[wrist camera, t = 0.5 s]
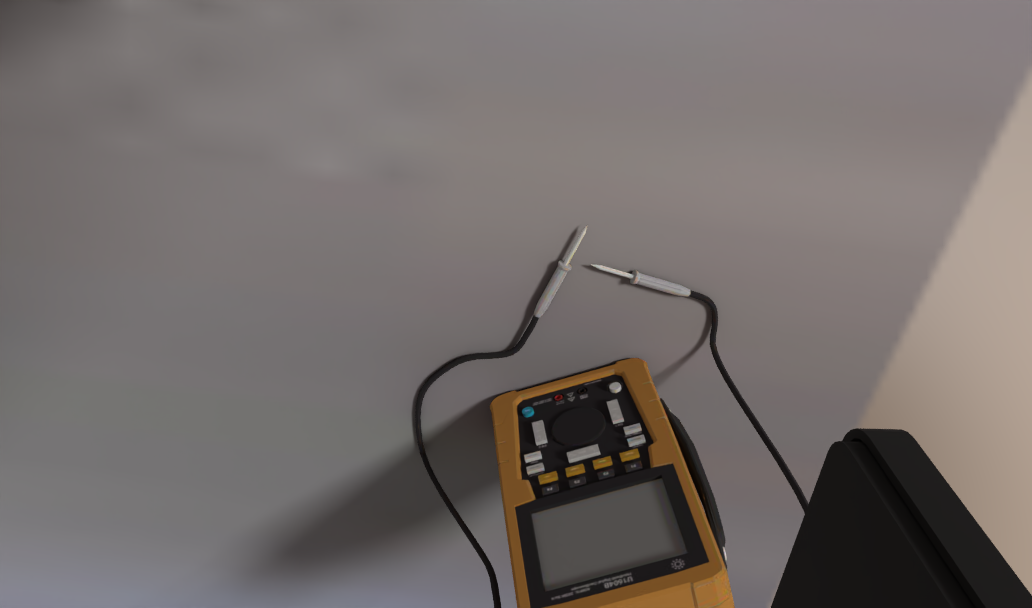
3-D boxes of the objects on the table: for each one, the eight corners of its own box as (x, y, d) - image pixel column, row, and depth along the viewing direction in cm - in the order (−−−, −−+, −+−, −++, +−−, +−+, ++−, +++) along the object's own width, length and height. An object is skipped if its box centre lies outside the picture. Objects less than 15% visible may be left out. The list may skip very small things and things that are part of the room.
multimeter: (696, 188, 39) (925, 557, 23) (730, 376, 45) (936, 787, 28) (351, 287, 40) (324, 718, 23) (425, 461, 46) (447, 912, 29)
